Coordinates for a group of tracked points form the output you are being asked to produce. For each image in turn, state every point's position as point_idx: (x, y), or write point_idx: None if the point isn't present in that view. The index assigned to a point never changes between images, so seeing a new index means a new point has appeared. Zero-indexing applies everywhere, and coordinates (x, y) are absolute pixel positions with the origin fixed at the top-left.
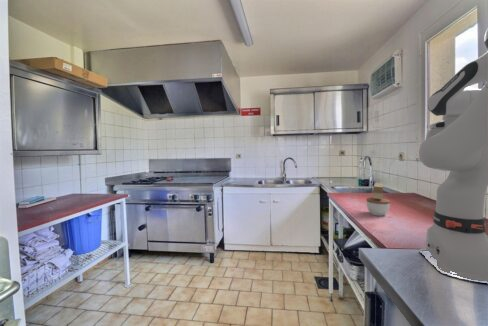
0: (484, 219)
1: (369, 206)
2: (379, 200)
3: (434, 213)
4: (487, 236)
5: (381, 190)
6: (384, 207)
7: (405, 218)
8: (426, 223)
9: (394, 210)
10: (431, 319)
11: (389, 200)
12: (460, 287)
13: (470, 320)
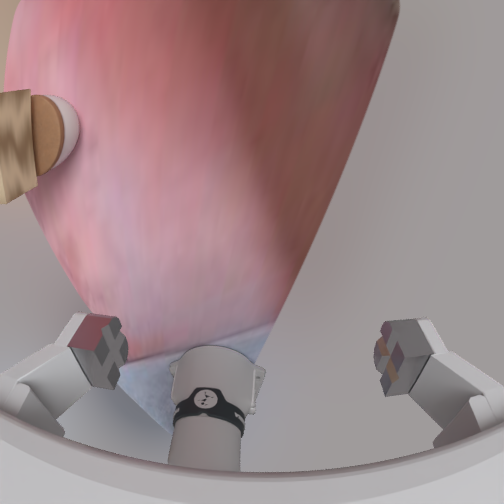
0: (241, 437)
1: None
2: (34, 159)
3: (173, 425)
4: (252, 404)
5: (13, 198)
6: (61, 161)
7: (135, 131)
8: (192, 163)
9: (109, 32)
10: None
11: (58, 129)
12: None
13: None
